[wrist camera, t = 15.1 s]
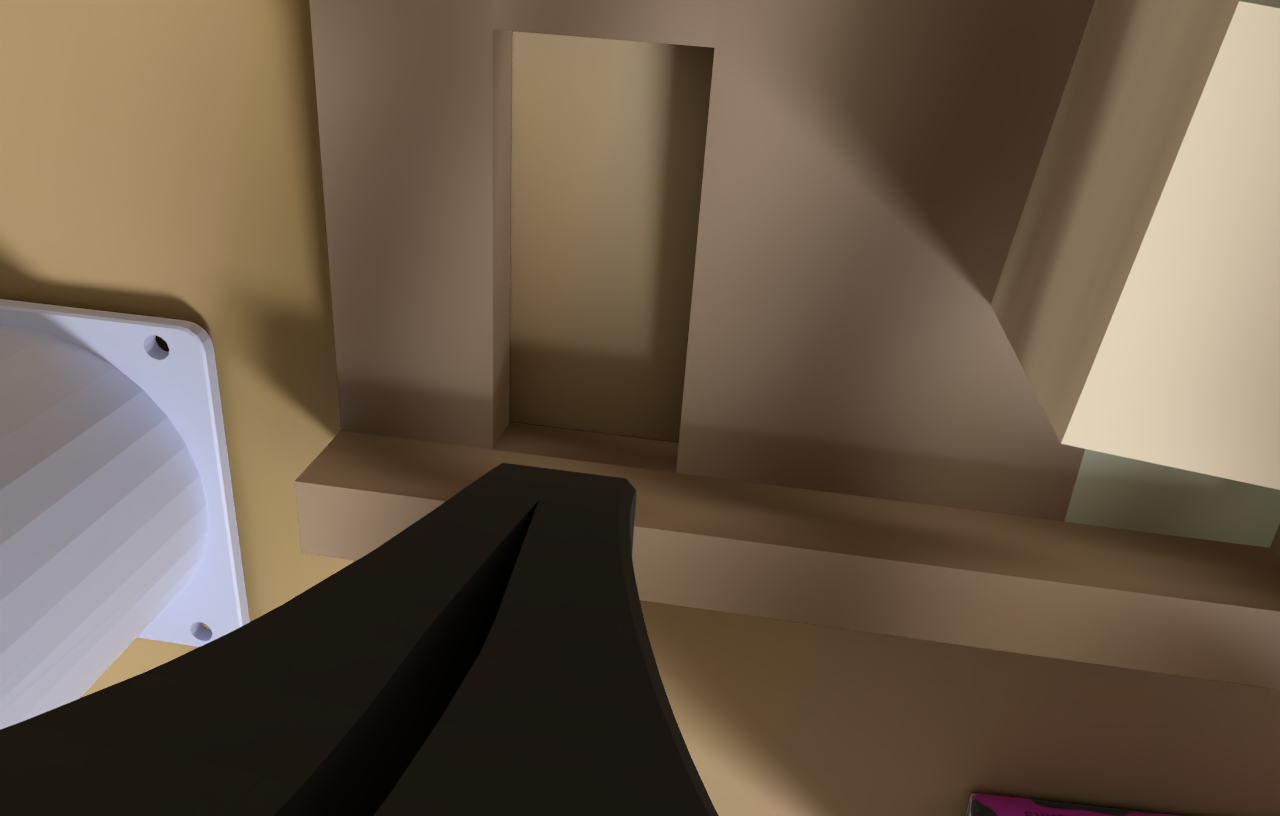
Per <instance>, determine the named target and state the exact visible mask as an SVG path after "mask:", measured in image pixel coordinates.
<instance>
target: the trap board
mask: <svg viewBox="0 0 1280 816" xmlns="http://www.w3.org/2000/svg"><path fill="white" fill-rule="evenodd" d="M1236 1H1242V2H1248V3H1253V4H1259V5H1264V6H1269V7H1275V8H1280V0H1236ZM1094 2H1095V0H309V4H310V17H311V31H312V44H313V58H314V71H315V84H316V98H317V111H318V125H319V138H320V151H321V165H322V178H323V192H324V205H325V219H326V232H327V245H328V259H329V272H330V286H331V299H332V312H333V326H334V339H335V353H336V366H337V380H338V393H339V406H340V420H341V431H340V433H339V434H338V435H337V436H336V437H335V438H334V439H333V440H332V441H331V442H330V443H329V444H328V446H327V447H326V448H325V449H324V450H323V451H322V452H321V453H320V454H319V455H318V456H317V457H316V459H315V460H314V461H313V462H312V463H311V464H310V465H309V466H308V467H307V468H306V469H305V471H304V472H303V473H302V474H301V475H300V476H299V477H298V478H297V479H296V480H295V491H296V501H297V511H298V521H299V531H300V541H301V551H302V553H305V554H312V555H319V556H326V557H333V558H341V559H348V560H355V561H357V560H358V559H360V558H362V557H363V556H365V555H367V554H368V553H370V552H372V551H373V550H375V549H376V548H378V547H379V546H381V545H382V544H384V543H385V542H387V541H388V540H390V539H391V538H393V537H394V536H396V535H397V534H399V533H400V532H402V531H403V530H405V529H406V528H408V527H409V526H410V525H412V524H413V523H415V522H416V521H418V520H419V519H421V518H422V517H424V516H425V515H427V514H428V513H430V512H431V511H433V510H434V509H436V508H437V507H438V506H440V505H441V504H443V503H444V502H446V501H447V500H449V499H450V498H451V497H453V496H454V495H456V494H457V493H458V492H460V491H461V490H463V489H464V488H466V487H467V486H468V485H470V484H471V483H473V482H474V481H476V480H477V479H479V478H480V477H481V476H483V475H484V474H486V473H487V472H489V471H490V470H492V469H493V468H495V467H497V466H498V465H500V464H501V463H509V464H517V465H525V466H533V467H541V468H549V469H556V470H564V471H572V472H580V473H588V474H596V475H604V476H611V477H619V478H626V479H627V480H628V481H629V482H630V484H631V485H632V486H633V487H634V488H635V489H636V491H637V492H636V506H635V520H634V534H633V548H632V561H633V568H634V574H635V579H636V584H637V589H638V594H639V599H640V600H641V601H648V602H655V603H663V604H670V605H677V606H684V607H691V608H698V609H706V610H713V611H720V612H727V613H734V614H741V615H748V616H756V617H763V618H770V619H777V620H784V621H791V622H799V623H806V624H813V625H820V626H827V627H834V628H841V629H849V630H856V631H863V632H870V633H877V634H884V635H892V636H899V637H906V638H913V639H920V640H927V641H934V642H942V643H949V644H956V645H963V646H970V647H977V648H985V649H992V650H999V651H1006V652H1013V653H1020V654H1027V655H1035V656H1042V657H1049V658H1056V659H1063V660H1070V661H1078V662H1085V663H1092V664H1099V665H1106V666H1113V667H1120V668H1128V669H1135V670H1142V671H1149V672H1156V673H1163V674H1171V675H1178V676H1185V677H1192V678H1199V679H1206V680H1213V681H1221V682H1228V683H1235V684H1242V685H1249V686H1256V687H1264V688H1271V689H1278V690H1280V490H1278V489H1273V488H1268V487H1264V486H1259V485H1254V484H1250V483H1245V482H1240V481H1235V480H1231V479H1226V478H1221V477H1216V476H1212V475H1207V474H1202V473H1198V472H1193V471H1188V470H1183V469H1179V468H1174V467H1169V466H1164V465H1160V464H1155V463H1150V462H1145V461H1141V460H1136V459H1131V458H1127V457H1122V456H1117V455H1112V454H1108V453H1103V452H1098V451H1093V450H1089V449H1084V448H1079V447H1074V446H1070V445H1065V444H1061V443H1060V441H1059V439H1058V437H1057V435H1056V433H1055V431H1054V429H1053V427H1052V425H1051V423H1050V421H1049V419H1048V417H1047V415H1046V413H1045V411H1044V409H1043V407H1042V405H1041V403H1040V401H1039V399H1038V397H1037V395H1036V393H1035V391H1034V389H1033V387H1032V386H1031V384H1030V382H1029V380H1028V378H1027V376H1026V374H1025V372H1024V370H1023V368H1022V366H1021V364H1020V362H1019V360H1018V358H1017V356H1016V354H1015V352H1014V350H1013V348H1012V346H1011V344H1010V342H1009V340H1008V338H1007V336H1006V334H1005V332H1004V330H1003V328H1002V326H1001V324H1000V322H999V320H998V318H997V317H996V315H995V313H994V311H993V309H992V307H991V303H992V300H993V297H994V294H995V291H996V288H997V285H998V282H999V279H1000V276H1001V273H1002V270H1003V268H1004V265H1005V262H1006V259H1007V256H1008V253H1009V250H1010V247H1011V244H1012V241H1013V238H1014V235H1015V233H1016V230H1017V227H1018V224H1019V221H1020V218H1021V215H1022V212H1023V209H1024V206H1025V203H1026V200H1027V198H1028V195H1029V192H1030V189H1031V186H1032V183H1033V180H1034V177H1035V174H1036V171H1037V168H1038V165H1039V163H1040V160H1041V157H1042V154H1043V151H1044V148H1045V145H1046V142H1047V139H1048V136H1049V133H1050V130H1051V128H1052V125H1053V122H1054V119H1055V116H1056V113H1057V110H1058V107H1059V104H1060V101H1061V98H1062V95H1063V92H1064V90H1065V87H1066V84H1067V81H1068V78H1069V75H1070V72H1071V69H1072V66H1073V63H1074V60H1075V57H1076V55H1077V52H1078V49H1079V46H1080V43H1081V40H1082V37H1083V34H1084V31H1085V28H1086V25H1087V22H1088V20H1089V17H1090V14H1091V11H1092V8H1093V5H1094ZM512 31H519V32H531V33H543V34H555V35H567V36H579V37H591V38H603V39H616V40H628V41H640V42H652V43H664V44H676V45H688V46H700V47H712V48H714V58H713V70H712V81H711V92H710V103H709V114H708V125H707V136H706V147H705V158H704V169H703V180H702V191H701V202H700V214H699V225H698V236H697V247H696V258H695V269H694V280H693V291H692V302H691V313H690V324H689V335H688V346H687V357H686V369H685V380H684V391H683V402H682V413H681V424H680V435H679V443H675V442H667V441H659V440H651V439H643V438H635V437H626V436H618V435H610V434H602V433H594V432H586V431H578V430H570V429H562V428H553V427H545V426H537V425H529V424H521V423H513V422H509V400H510V262H511V124H512Z"/></svg>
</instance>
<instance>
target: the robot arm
mask: <svg viewBox="0 0 1280 816" xmlns="http://www.w3.org/2000/svg"><path fill="white" fill-rule="evenodd" d="M156 336H159V337H161V338H162V339H163V340H164V341H165V342H166V343H167V345H168V347H169V352H167V351H164V350H162V349H161V348H160V347H159V346H158V344H157V342H156V339H155V337H156ZM636 492H637V491H636V489H635V488H634V487H633V486H632V485H631V484H630V482H629V481H628V480H627V479H626V478H619V477H611V476H604V475H596V474H588V473H580V472H572V471H564V470H556V469H549V468H541V467H533V466H525V465H517V464H509V463H501V464H500V465H498V466H497V467H495V468H493V469H492V470H490V471H489V472H487V473H486V474H484V475H483V476H481V477H480V478H479V479H477V480H476V481H474V482H473V483H471V484H470V485H468V486H467V487H466V488H464V489H463V490H461V491H460V492H458V493H457V494H456V495H454V496H453V497H451V498H450V499H449V500H447V501H446V502H444V503H443V504H441V505H440V506H438V507H437V508H436V509H434V510H433V511H431V512H430V513H428V514H427V515H425V516H424V517H422V518H421V519H419V520H418V521H416V522H415V523H413V524H412V525H410V526H409V527H408V528H406V529H405V530H403V531H402V532H400V533H399V534H397V535H396V536H394V537H393V538H391V539H390V540H388V541H387V542H385V543H384V544H382V545H381V546H379V547H378V548H376V549H375V550H373V551H372V552H370V553H368V554H367V555H365V556H363V557H362V558H360V559H358V560H357V561H355V562H353V563H352V564H350V565H348V566H347V567H345V568H343V569H342V570H340V571H338V572H337V573H335V574H333V575H332V576H330V577H328V578H327V579H325V580H323V581H322V582H320V583H318V584H316V585H315V586H313V587H311V588H310V589H308V590H306V591H305V592H303V593H301V594H300V595H298V596H296V597H295V598H293V599H291V600H290V601H288V602H286V603H285V604H283V605H281V606H279V607H277V608H276V609H274V610H272V611H270V612H268V613H266V614H265V615H263V616H261V617H259V618H257V619H255V620H253V621H251V622H250V621H249V613H248V605H247V598H246V590H245V583H244V575H243V567H242V560H241V552H240V545H239V537H238V529H237V522H236V514H235V506H234V499H233V491H232V484H231V476H230V468H229V461H228V453H227V446H226V438H225V430H224V423H223V415H222V408H221V400H220V392H219V385H218V377H217V369H216V362H215V354H214V347H213V344H212V341H211V338H210V336H209V335H208V334H207V332H206V331H205V330H204V329H203V328H202V327H200V326H199V325H197V324H196V323H193V322H190V321H186V320H177V319H169V318H160V317H152V316H143V315H134V314H126V313H117V312H109V311H100V310H91V309H83V308H74V307H66V306H57V305H49V304H40V303H31V302H23V301H14V300H6V299H0V816H718V814H717V812H716V810H715V808H714V806H713V804H712V802H711V800H710V798H709V796H708V793H707V791H706V789H705V787H704V785H703V782H702V780H701V778H700V776H699V774H698V771H697V769H696V767H695V765H694V763H693V761H692V758H691V756H690V754H689V751H688V749H687V746H686V744H685V742H684V739H683V737H682V734H681V732H680V729H679V727H678V724H677V722H676V719H675V717H674V714H673V712H672V709H671V706H670V703H669V701H668V698H667V695H666V692H665V689H664V686H663V683H662V680H661V677H660V675H659V671H658V668H657V665H656V661H655V658H654V655H653V651H652V648H651V645H650V641H649V638H648V634H647V630H646V626H645V622H644V618H643V614H642V610H641V604H640V599H639V594H638V589H637V584H636V579H635V574H634V568H633V561H632V548H633V534H634V520H635V506H636ZM201 623H204V624H206V625H207V626H208V627H209V628H210V629H211V630H210V629H207V628H206V627H204V626H203V625H202V624H201ZM137 637H138V638H145V639H151V640H158V641H165V642H171V643H178V644H184V645H191V646H198V647H199V648H197V649H194V650H192V651H190V652H188V653H186V654H184V655H182V656H180V657H178V658H176V659H174V660H171V661H169V662H167V663H165V664H163V665H160V666H158V667H156V668H154V669H151V670H149V671H147V672H145V673H142V674H140V675H137V676H135V677H132V678H130V679H127V680H125V681H122V682H120V683H117V684H115V685H112V686H110V687H107V688H105V689H102V690H100V691H97V692H95V693H92V694H90V695H87V696H85V697H82V698H80V697H81V696H82V695H83V694H84V693H85V692H86V691H87V690H88V689H89V688H90V687H91V686H92V685H93V683H94V682H95V681H96V680H97V679H98V678H99V677H100V676H101V675H102V674H103V673H104V672H105V671H106V670H107V669H108V668H109V666H110V665H111V664H112V663H113V662H114V661H115V660H116V659H117V658H118V657H119V656H120V655H121V654H122V653H123V652H124V650H125V649H126V648H127V647H128V646H129V645H130V644H131V643H132V642H133V641H134V640H135V639H136V638H137ZM79 698H80V699H79Z"/></svg>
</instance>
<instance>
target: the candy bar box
mask: <svg viewBox="0 0 1280 816" xmlns="http://www.w3.org/2000/svg"><path fill="white" fill-rule="evenodd" d="M966 816H1181V815H1169V814H1159V813H1150V812H1142V811H1134V810H1125V809H1116V808H1107V807H1098V806H1089V805H1080V804H1069V803H1060V802H1052V801H1046V800H1036V799H1026V798H1016V797H1006V796H998V795H990V794H981V793H973V794H971V796H970V800H969V804H968V808H967V812H966Z"/></svg>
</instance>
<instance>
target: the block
mask: <svg viewBox="0 0 1280 816" xmlns="http://www.w3.org/2000/svg"><path fill="white" fill-rule="evenodd" d="M991 307H992V309H993V311H994V313H995V315H996V317H997V318H998V320H999V322H1000V324H1001V326H1002V328H1003V330H1004V332H1005V334H1006V336H1007V338H1008V340H1009V342H1010V344H1011V346H1012V348H1013V350H1014V352H1015V354H1016V356H1017V358H1018V360H1019V362H1020V364H1021V366H1022V368H1023V370H1024V372H1025V374H1026V376H1027V378H1028V380H1029V382H1030V384H1031V386H1032V387H1033V389H1034V391H1035V393H1036V395H1037V397H1038V399H1039V401H1040V403H1041V405H1042V407H1043V409H1044V411H1045V413H1046V415H1047V417H1048V419H1049V421H1050V423H1051V425H1052V427H1053V429H1054V431H1055V433H1056V435H1057V437H1058V439H1059V441H1060V443H1061V444H1065V445H1070V446H1074V447H1079V448H1084V449H1089V450H1093V451H1098V452H1103V453H1108V454H1112V455H1117V456H1122V457H1127V458H1131V459H1136V460H1141V461H1145V462H1150V463H1155V464H1160V465H1164V466H1169V467H1174V468H1179V469H1183V470H1188V471H1193V472H1198V473H1202V474H1207V475H1212V476H1216V477H1221V478H1226V479H1231V480H1235V481H1240V482H1245V483H1250V484H1254V485H1259V486H1264V487H1268V488H1273V489H1278V490H1280V8H1275V7H1269V6H1264V5H1259V4H1253V3H1248V2H1242V1H1236V0H1095V2H1094V5H1093V8H1092V11H1091V14H1090V17H1089V20H1088V22H1087V25H1086V28H1085V31H1084V34H1083V37H1082V40H1081V43H1080V46H1079V49H1078V52H1077V55H1076V57H1075V60H1074V63H1073V66H1072V69H1071V72H1070V75H1069V78H1068V81H1067V84H1066V87H1065V90H1064V92H1063V95H1062V98H1061V101H1060V104H1059V107H1058V110H1057V113H1056V116H1055V119H1054V122H1053V125H1052V128H1051V130H1050V133H1049V136H1048V139H1047V142H1046V145H1045V148H1044V151H1043V154H1042V157H1041V160H1040V163H1039V165H1038V168H1037V171H1036V174H1035V177H1034V180H1033V183H1032V186H1031V189H1030V192H1029V195H1028V198H1027V200H1026V203H1025V206H1024V209H1023V212H1022V215H1021V218H1020V221H1019V224H1018V227H1017V230H1016V233H1015V235H1014V238H1013V241H1012V244H1011V247H1010V250H1009V253H1008V256H1007V259H1006V262H1005V265H1004V268H1003V270H1002V273H1001V276H1000V279H999V282H998V285H997V288H996V291H995V294H994V297H993V300H992V303H991Z"/></svg>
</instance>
